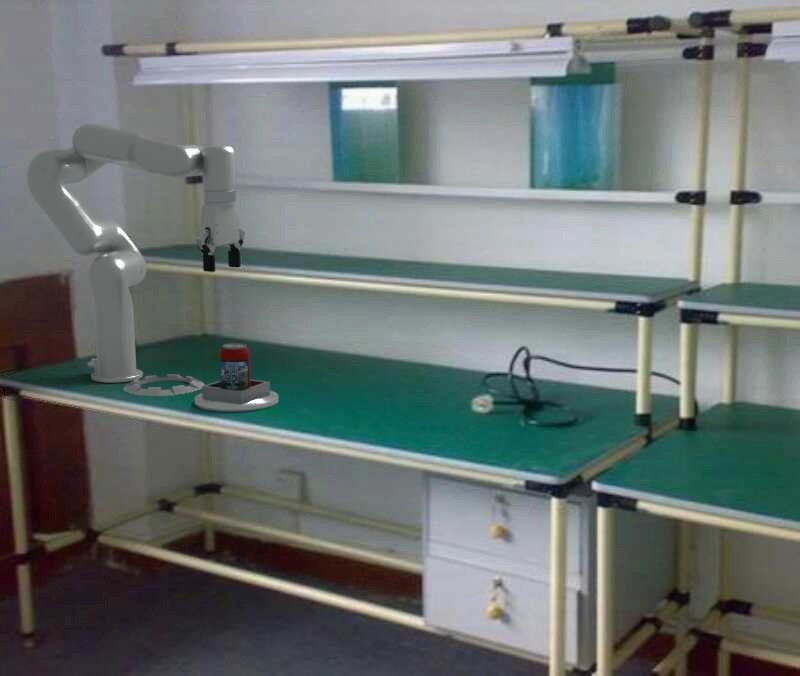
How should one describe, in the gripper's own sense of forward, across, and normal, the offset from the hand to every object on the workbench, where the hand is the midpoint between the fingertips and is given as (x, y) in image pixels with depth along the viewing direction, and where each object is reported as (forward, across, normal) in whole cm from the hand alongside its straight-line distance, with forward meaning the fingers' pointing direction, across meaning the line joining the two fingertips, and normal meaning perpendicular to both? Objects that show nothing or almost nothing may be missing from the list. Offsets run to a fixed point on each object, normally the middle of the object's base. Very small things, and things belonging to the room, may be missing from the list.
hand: (222, 269), depth 274 cm
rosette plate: (+28, +14, +14) cm, 35 cm away
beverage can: (+27, +14, +14) cm, 34 cm away
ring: (+29, +10, -11) cm, 33 cm away
